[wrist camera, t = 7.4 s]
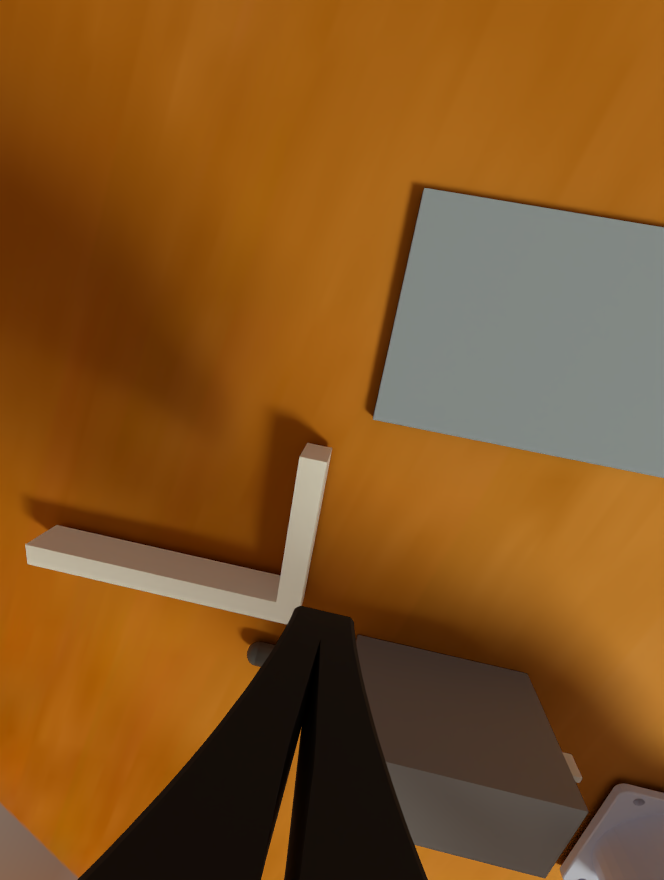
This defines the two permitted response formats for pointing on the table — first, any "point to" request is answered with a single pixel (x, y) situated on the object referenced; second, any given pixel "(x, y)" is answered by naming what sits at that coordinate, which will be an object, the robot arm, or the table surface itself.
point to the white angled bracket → (197, 574)
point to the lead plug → (469, 756)
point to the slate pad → (531, 332)
